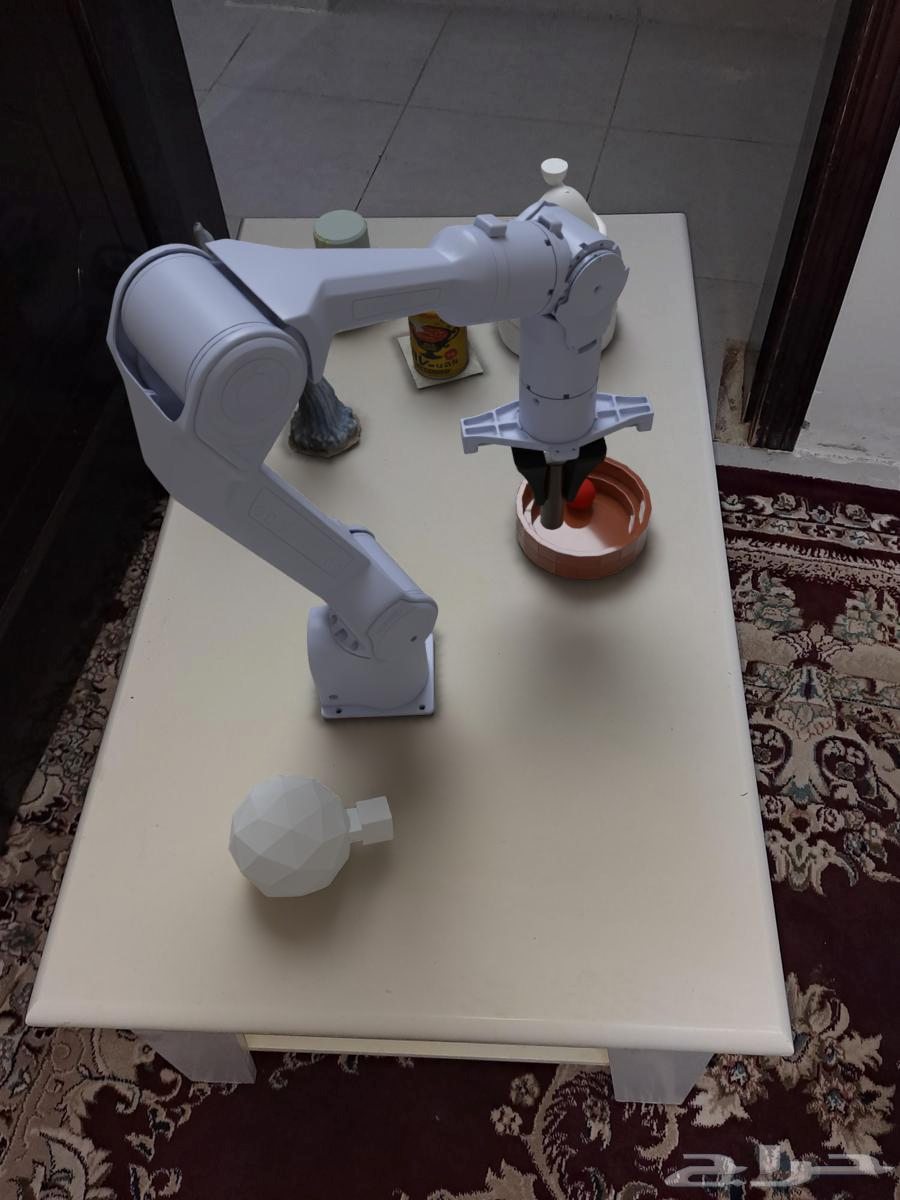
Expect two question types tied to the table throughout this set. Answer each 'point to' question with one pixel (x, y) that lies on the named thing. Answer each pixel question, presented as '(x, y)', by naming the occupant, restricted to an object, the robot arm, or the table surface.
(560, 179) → the honey pot
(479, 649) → the table surface
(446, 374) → the condiment
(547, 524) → the stick
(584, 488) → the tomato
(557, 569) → the bowl
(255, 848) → the perfume bottle
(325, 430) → the antler
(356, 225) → the air freshener
